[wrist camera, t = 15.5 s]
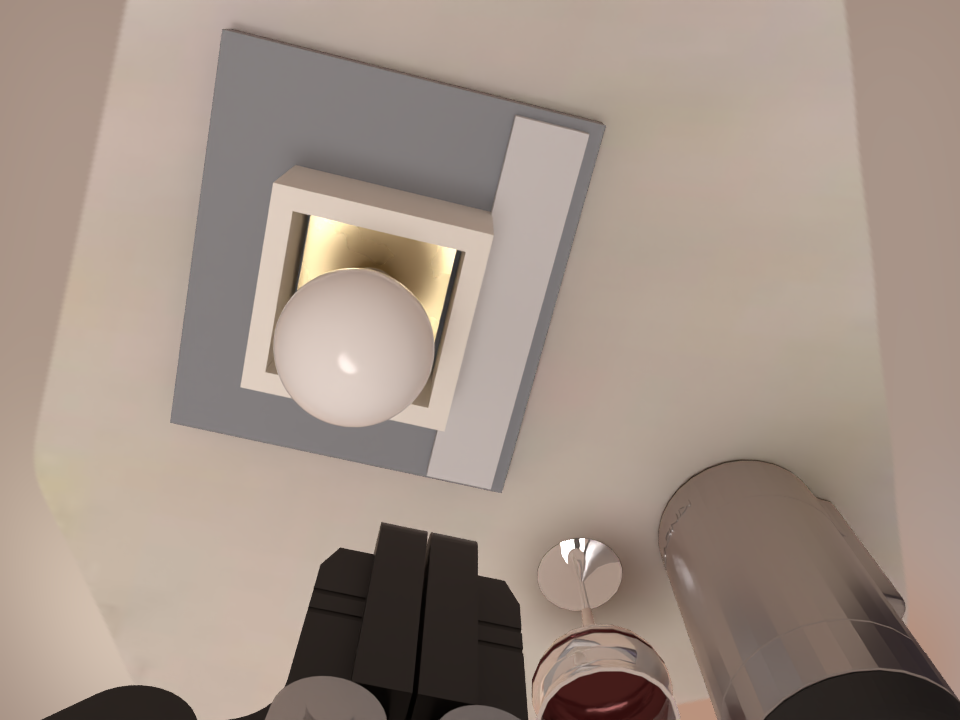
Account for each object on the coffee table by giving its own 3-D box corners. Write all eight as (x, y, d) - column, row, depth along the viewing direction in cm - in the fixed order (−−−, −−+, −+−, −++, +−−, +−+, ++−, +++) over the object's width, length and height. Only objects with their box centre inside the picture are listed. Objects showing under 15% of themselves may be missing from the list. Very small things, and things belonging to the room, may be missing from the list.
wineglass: (601, 639, 54) (634, 801, 43) (501, 596, 53) (508, 751, 42) (659, 553, 52) (709, 699, 41) (556, 506, 51) (579, 644, 40)
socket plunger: (459, 231, 44) (459, 238, 42) (428, 362, 46) (427, 373, 45) (317, 198, 43) (312, 204, 42) (293, 332, 46) (288, 342, 44)
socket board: (601, 122, 43) (622, 138, 37) (500, 479, 50) (504, 543, 44) (230, 28, 42) (188, 30, 36) (179, 411, 49) (136, 466, 43)
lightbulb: (460, 315, 44) (463, 409, 34) (348, 373, 45) (318, 481, 34) (395, 201, 42) (377, 263, 31) (279, 264, 43) (224, 345, 32)
